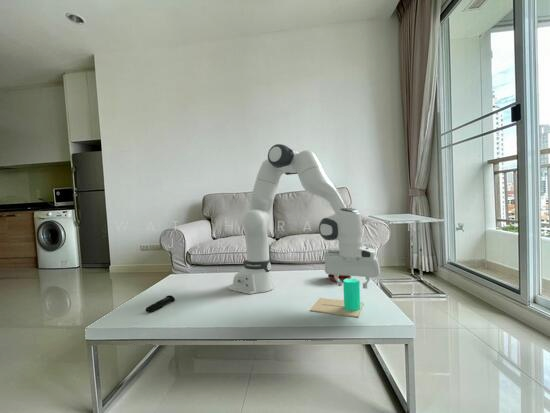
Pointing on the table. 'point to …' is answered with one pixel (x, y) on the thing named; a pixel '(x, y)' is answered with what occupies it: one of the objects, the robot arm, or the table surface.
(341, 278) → the plant pot
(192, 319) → the table surface
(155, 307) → the electric trimmer
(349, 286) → the candle
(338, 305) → the tan flat wooden board
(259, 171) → the robot arm
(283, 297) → the table surface
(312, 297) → the table surface
